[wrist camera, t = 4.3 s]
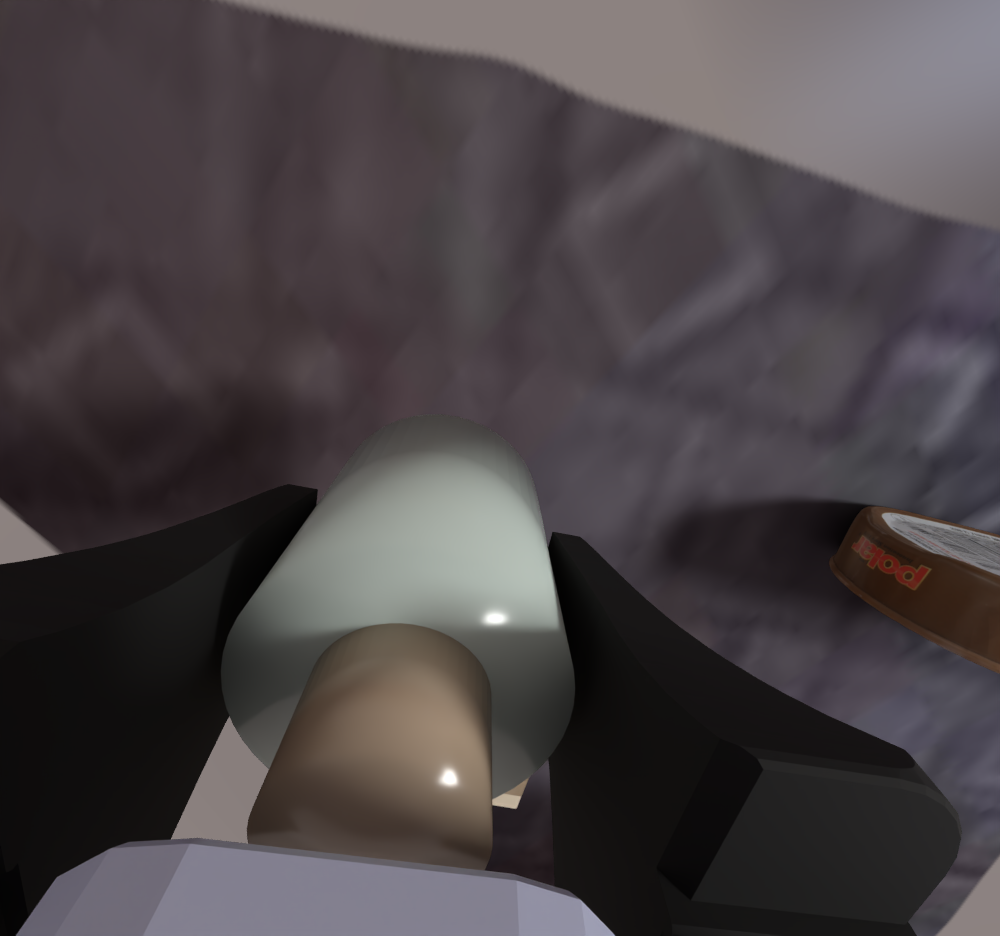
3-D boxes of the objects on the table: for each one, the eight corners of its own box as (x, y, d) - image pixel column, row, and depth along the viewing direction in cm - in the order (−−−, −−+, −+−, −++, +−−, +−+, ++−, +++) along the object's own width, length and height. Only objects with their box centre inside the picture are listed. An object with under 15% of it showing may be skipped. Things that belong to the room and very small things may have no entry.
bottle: (328, 577, 14) (136, 955, 6) (348, 395, 12) (112, 618, 4) (513, 608, 14) (541, 992, 7) (559, 436, 12) (668, 702, 5)
